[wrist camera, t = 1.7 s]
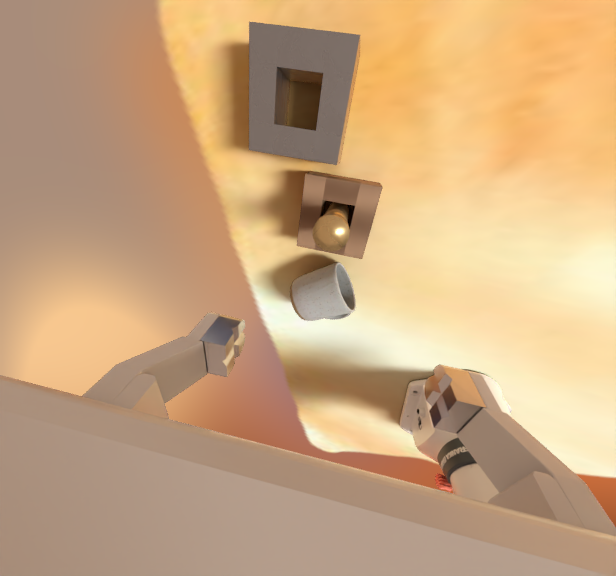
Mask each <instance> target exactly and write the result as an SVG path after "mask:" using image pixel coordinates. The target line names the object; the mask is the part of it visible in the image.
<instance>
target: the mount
mask: <svg viewBox="0 0 616 576" xmlns="http://www.w3.org/2000/svg"><path fill="white" fill-rule="evenodd" d="M381 191H382V186H381V184H380V183H377V182H371V181H365V180H360V179H354V178H348V177H342V176H336V175H331V174H325V173H319V172H313V171H310V172H308V173H306V174H305V181H304V189H303V198H302V206H301V215H300V223H299V232H298V240H297V246H300V247H305V248H310V249H315V250H320V251H325V250H323V249H321V248H319V247H318V246H317V245H316V243H315V242H314V239H313V227H314V225H315V223H316V222H317V220H318V219H319V218H320V217H321V216H323V213H324V207H325V201H332V202H337V203H343V204H348V205H353V206H354V209H353V214H352V218H351V222H350V226H349V229H350V233H349V239H348V241H347V243H346V245H345V246H344V247H343V248H341V249H339V250H337V251H325V252H330V253H335V254H340V255H344V256H349V257H354V258H359V259H362V258H363V254H364V251H365V247H366V244H367V240H368V237H369V233H370V230H371V226H372V223H373V219H374V216H375V212H376V209H377V205H378V202H379V198H380V194H381Z"/></svg>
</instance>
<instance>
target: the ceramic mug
mask: <svg viewBox="0 0 616 576" xmlns="http://www.w3.org/2000/svg"><path fill="white" fill-rule="evenodd" d="M290 298H291V302H292V305H293V308H294V310H295V312H296V313H297V314H298V316H299V317H300V318H302V319H304V320H308V321H311V320H319V319H323V318H325V319H341V318H345V317H347V316H349V315H350V314H351V312H353V311H354V310H355V307H356V305H355V295H354V290H353V286H352V283H351V281H350V277H349V275H348V273H347V271H346V269H345V268H344V266H343V265H342V264H341V263H339V262H336V263H334V264H331V265H328V266H326V267H323V268H320V269H318V270H315V271H313V272H310V273H308V274H305V275H302V276H300V277H298V278H297V279H295V280H294V281H293V283H292V285H291V288H290Z"/></svg>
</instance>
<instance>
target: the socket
mask: <svg viewBox="0 0 616 576" xmlns="http://www.w3.org/2000/svg"><path fill="white" fill-rule="evenodd" d="M359 57H360V35H356V34H348V33H339V32H331V31H323V30H314V29H306V28H297V27H289V26H281V25H272V24H264V23H256V22H249V150H252V151H258V152H263V153H269V154H275V155H281V156H287V157H293V158H299V159H305V160H311V161H317V162H323V163H328V164H334V165H337V164H339V163H340V160H341V154H342V149H343V144H344V138H345V133H346V127H347V122H348V117H349V111H350V106H351V100H352V95H353V90H354V84H355V79H356V73H357V68H358V63H359ZM290 80H293V81H300V82H307V83H315V84H322V87H321V95H320V103H319V111H318V118H317V126H316V131H314V130H308V129H302V128H295V127H289V126H287V114H288V101H289V87H290Z"/></svg>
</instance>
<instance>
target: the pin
mask: <svg viewBox="0 0 616 576" xmlns="http://www.w3.org/2000/svg"><path fill="white" fill-rule="evenodd" d="M348 215H349V208H348V206H347V205H346V204H343V203H337V202H333V203H331V204H330V205H329V207H328V209H327V211H326V213H325V215H323V216H321V217H320V218H319V219H318V220H317V222H316V223H315V225H314V227H313V239H314V242H315V243H316V245H317V246H318V247H319V248H321V249H323V250H325V251H337V250H339V249H341V248H343V247H344V246H345V245H346V243H347V241H348V239H349V233H350V229H349V225H348V222H347V221H348Z"/></svg>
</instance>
